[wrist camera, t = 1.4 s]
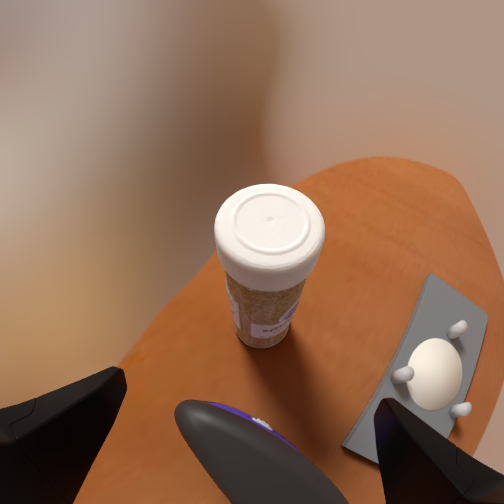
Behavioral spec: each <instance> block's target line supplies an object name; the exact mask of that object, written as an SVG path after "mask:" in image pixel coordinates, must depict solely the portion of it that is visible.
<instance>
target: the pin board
mask: <svg viewBox="0 0 504 504" xmlns="http://www.w3.org/2000/svg"><path fill="white" fill-rule="evenodd" d="M487 320H488V314H487V313H486V312H484V311H483V310H482V309H480V308H479V307H478V306H476V305H475V304H474V303H473V302H471V301H470V300H469V299H467V298H466V297H465V296H463V295H462V294H460V293H459V292H458V291H456V290H455V289H454V288H452V287H451V286H449V285H448V284H447V283H445V282H444V281H442V280H441V279H440V278H438V277H437V276H435V275H434V274H432V273H430V274H428V275H427V276H426V278H425V281H424V284H423V287H422V290H421V293H420V295H419V298H418V301H417V303H416V306H415V308H414V311H413V313H412V316H411V318H410V321H409V323H408V325H407V328H406V330H405V332H404V335H403V337H402V339H401V341H400V344H399V346H398V348H397V350H396V352H395V354H394V356H393V358H392V360H391V362H390V364H389V366H388V368H387V370H386V372H385V374H384V376H383V378H382V380H381V381H380V383H379V385H378V387H377V389H376V391H375V392H374V394H373V396H372V398H371V399H370V401H369V403H368V404H367V406H366V408H365V409H364V411H363V413H362V414H361V416H360V417H359V419H358V421H357V422H356V424H355V425H354V427H353V428H352V430H351V431H350V433H349V434H348V436H347V437H346V439H345V440H344V442H343V443H342V444H341V446H343V447H345V448H347V449H349V450H351V451H353V452H355V453H357V454H359V455H361V456H363V457H365V458H367V459H369V460H371V461H373V462H375V463H377V464H379V462H378V457H377V450H376V439H375V429H374V420H373V419H374V414H375V411H376V409H377V407H378V405H379V403H380V401H381V400H382V399H383V398H391V397H392V398H394V399H396V400H397V401H398V402H400V403H401V404H402V405H403V406H405V407H406V408H407V409H409V410H410V411H411V412H412V413H414V414H415V415H416V416H418V417H419V418H420V419H422V420H423V421H424V422H425V423H427V424H428V425H429V426H431V427H432V428H433V429H435V430H436V431H437V432H439V433H440V434H441V435H443V436H444V437H445V438H448V436H449V434H450V432H451V430H452V427H453V425H454V423H455V421H456V419H457V417H462V416H468V415H469V414H470V412H471V410H472V406H471V404H470V403H469V402H467V403H463V402H464V399H465V396H466V394H467V391H468V388H469V385H470V382H471V380H472V377H473V373H474V370H475V367H476V364H477V360H478V357H479V353H480V350H481V346H482V342H483V338H484V334H485V329H486V325H487Z"/></svg>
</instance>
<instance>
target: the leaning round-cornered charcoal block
mask: <svg viewBox="0 0 504 504" xmlns="http://www.w3.org/2000/svg"><path fill="white" fill-rule="evenodd" d="M174 416H175V421H176V424H177V426H178V428H179V430H180V432H181V434H182V436H183V438H184V439H185V441H186V443H187V444H188V446H189V447H190V449H191V450H192V452H193V453H194V454H195V456H196V457H197V459H198V460H199V462H200V463H201V464H202V466H203V467H204V469H205V470H206V471H207V473H208V474H209V475H210V477H211V478H212V479H213V481H214V482H215V483H216V484H217V486H218V487H219V488H220V490H221V491H222V492H223V493H224V495H225V496H226V497H227V498H228V499H229V501H230V502H231V503H232V504H349V503H348V501H347V500H346V499H345V497H344V496H343V494H342V493H341V492H340V491H339V489H338V488H337V487H336V486H335V485H334V484H333V483H332V481H331V480H330V479H329V478H328V477H327V476H326V475H325V474H324V473H323V472H322V471H321V470H319V469H318V468H317V467H316V466H315V465H314V464H313V463H312V462H311V461H309V460H308V459H307V458H306V457H305V456H304V455H303V454H302V453H301V452H299V451H298V450H297V449H296V448H295V447H294V446H293V445H292V444H291V443H290V442H289V441H287V440H286V439H285V438H284V437H283V436H281V435H280V434H279V433H277V432H276V431H275V430H273V429H272V428H271V427H269V424H268V423H267V424H266V423H265V421H261V420H260V419H259V418H258V419H256V418H254V417H252V416H250V415H248V414H246V413H244V412H242V411H240V410H237V409H235V408H232V407H230V406H226V405H223V404H219V403H215V402H208V401H199V400H185V401H182V402H181V403H180V404H178V406H177V407H176V409H175V413H174Z"/></svg>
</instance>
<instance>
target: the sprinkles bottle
mask: <svg viewBox="0 0 504 504" xmlns="http://www.w3.org/2000/svg"><path fill="white" fill-rule="evenodd" d="M215 239H216V247H217V253H218V257H219V260H220V262H221V264H222V266H223V268H224V269H225V275H226V287H227V292H228V297H229V302H230V307H231V311H232V316H233V319H234V328H235V331H236V333H237V335H238V337H239V338H240V339H241V340H242V341H243V342H244V343H245V344H246V345H248V346H251V347H254V348H269V347H272V346H274V345H276V344H278V343H279V342H280V341H282V340H283V339H284V337H285V336H286V334H287V332H288V329H289V324H290V322H291V320H292V318H293V315H294V313H295V310H296V307H297V305H298V302H299V300H300V297H301V294H302V290H303V287H304V284H305V281H306V278H307V277H308V276H309V274H310V273H311V272H312V271H313V269H314V267H315V265H316V263H317V261H318V258H319V256H320V253H321V250H322V247H323V244H324V239H325V225H324V220H323V217H322V215H321V213H320V211H319V210H318V208H317V207H316V205H315V204H314V203H313V202H312V201H311V200H310V199H309V198H308V197H306V196H305V195H303V194H302V193H300V192H299V191H297V190H294V189H292V188H289V187H286V186H281V185H275V184H261V185H254V186H250V187H248V188H245V189H242V190H240V191H238V192H237V193H235V194H233V195H232V196H231V197H229V198H228V199H227V200H226V201H225V203H224V204H223V205H222V206H221V208H220V210H219V212H218V214H217V216H216V220H215Z"/></svg>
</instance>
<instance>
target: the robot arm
mask: <svg viewBox="0 0 504 504" xmlns="http://www.w3.org/2000/svg"><path fill="white" fill-rule="evenodd" d="M126 391H127V383H126V379H125V374H124V371H123V369H121V368H118V367H114V366H113V367H109V368H107V369H105V370H103V371H100V372H98V373H96V374H93V375H91V376H88V377H86V378H84V379H81V380H79V381H77V382H74V383H72V384H69V385H67V386H64V387H62V388H59V389H57V390H54V391H52V392H49V393H47V394H44V395H42V396H39V397H37V398H34V399H31V400H28V401H26V402H23V403H20V404H17V405H13V406H10V407H6V408H2V409H0V504H73V502H74V500H75V498H76V496H77V494H78V492H79V490H80V488H81V486H82V484H83V482H84V480H85V478H86V476H87V474H88V472H89V470H90V468H91V466H92V464H93V462H94V460H95V458H96V456H97V454H98V453H99V451H100V449H101V447H102V445H103V443H104V441H105V439H106V437H107V435H108V434H109V432H110V430H111V428H112V426H113V424H114V422H115V419H116V417H117V414H118V412H119V409H120V407H121V404H122V402H123V399H124V397H125V394H126ZM373 420H374V429H375V439H376V450H377V457H378V462H379V467H380V472H381V477H382V483H383V488H384V494H385V500H386V504H504V475H503V474H501V473H499V472H497V471H495V470H493V469H492V468H490V467H488V466H486V465H484V464H483V463H481V462H479V461H478V460H476V459H474V458H473V457H471V456H470V455H468V454H467V453H466V452H464V451H463V450H461V449H460V448H459V447H457V446H456V445H455V444H453V443H452V442H451V441H449V440H448V439H447V438H445V437H444V436H443V435H441V434H440V433H439V432H437V431H436V430H435V429H433V428H432V427H431V426H429V425H428V424H427V423H425V422H424V421H423V420H422V419H420V418H419V417H418V416H416V415H415V414H414V413H412V412H411V411H410V410H409V409H407V408H406V407H405V406H403V405H402V404H401V403H400V402H398V401H397V400H396V399H394V398H392V397H391V398H383V399H382V400H381V401H380V403H379V405H378V407H377V409H376V411H375V414H374V419H373Z"/></svg>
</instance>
